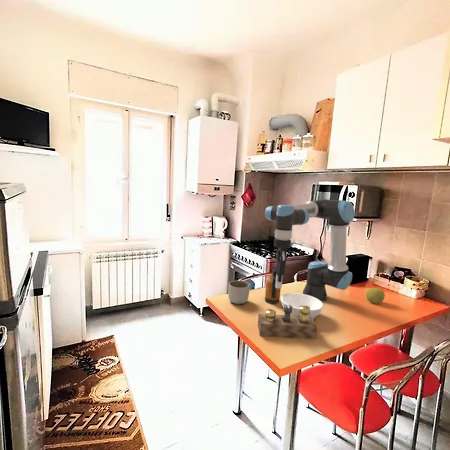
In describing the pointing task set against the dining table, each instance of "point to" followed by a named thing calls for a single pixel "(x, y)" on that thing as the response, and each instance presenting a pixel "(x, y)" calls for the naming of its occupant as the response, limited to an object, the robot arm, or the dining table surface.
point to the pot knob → (287, 313)
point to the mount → (287, 327)
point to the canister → (272, 289)
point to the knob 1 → (270, 314)
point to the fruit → (375, 295)
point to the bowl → (302, 303)
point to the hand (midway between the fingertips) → (278, 287)
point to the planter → (238, 291)
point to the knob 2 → (304, 313)
